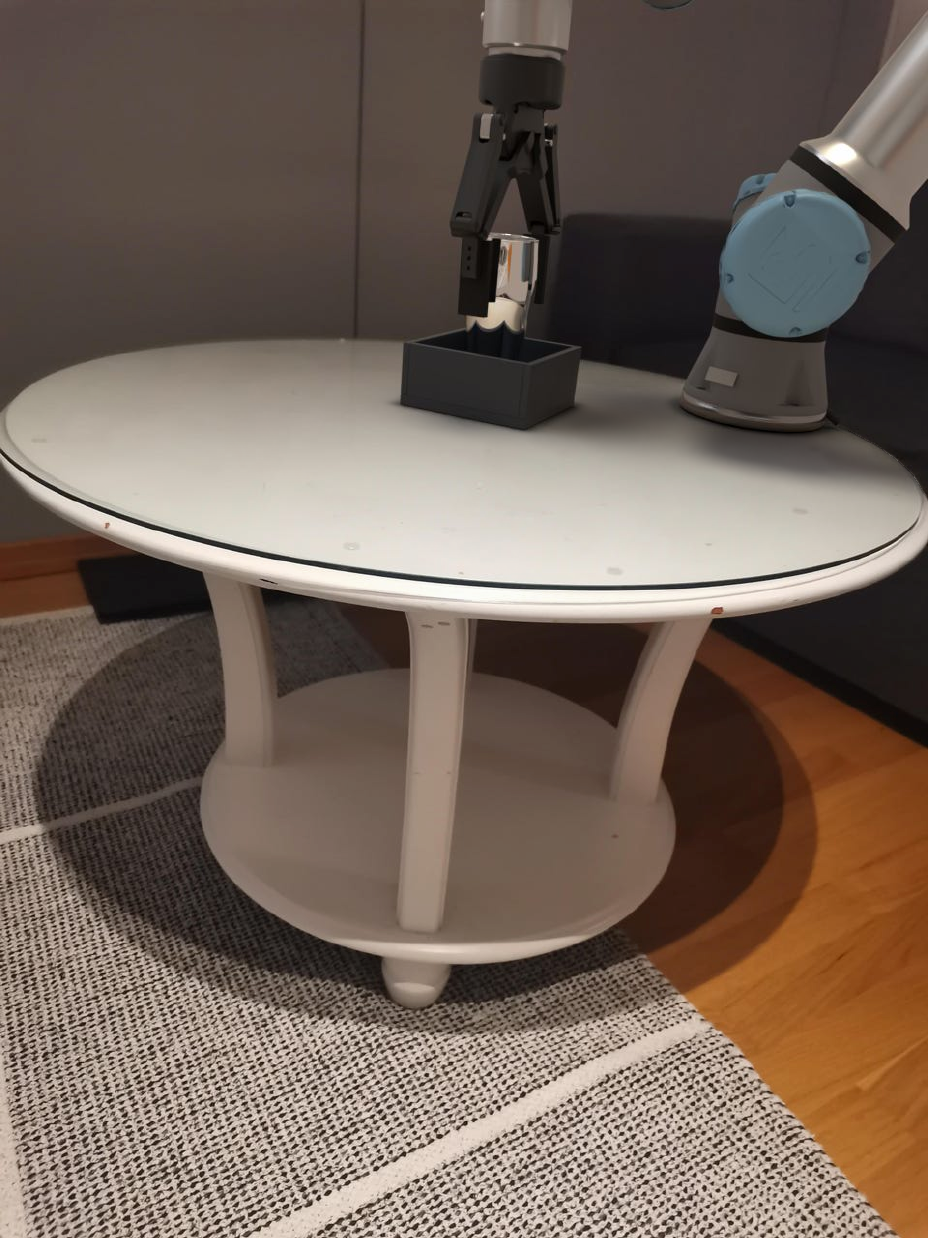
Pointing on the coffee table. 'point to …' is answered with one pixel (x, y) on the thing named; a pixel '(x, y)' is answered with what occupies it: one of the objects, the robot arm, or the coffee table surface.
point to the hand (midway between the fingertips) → (503, 309)
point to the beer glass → (506, 298)
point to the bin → (489, 380)
